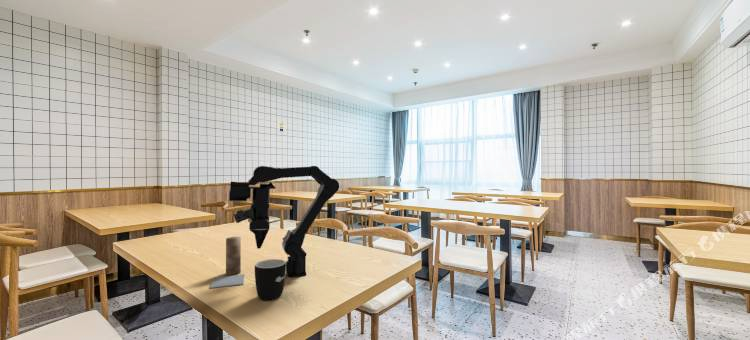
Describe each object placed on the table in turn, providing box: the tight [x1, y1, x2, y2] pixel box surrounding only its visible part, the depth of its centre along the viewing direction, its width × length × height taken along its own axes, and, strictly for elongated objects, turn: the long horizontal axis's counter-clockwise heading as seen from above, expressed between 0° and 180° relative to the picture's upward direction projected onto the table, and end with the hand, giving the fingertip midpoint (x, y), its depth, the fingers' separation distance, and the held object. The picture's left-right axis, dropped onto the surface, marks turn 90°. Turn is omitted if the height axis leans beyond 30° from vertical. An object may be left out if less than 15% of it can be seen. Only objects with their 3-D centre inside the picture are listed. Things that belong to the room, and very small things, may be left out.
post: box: [225, 236, 242, 276], centre depth 114 cm, size 5×5×13 cm
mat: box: [209, 274, 245, 289], centre depth 105 cm, size 10×10×1 cm
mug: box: [254, 258, 286, 302], centre depth 95 cm, size 12×9×10 cm
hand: (259, 245), depth 108 cm, fingers open, 9 cm apart
